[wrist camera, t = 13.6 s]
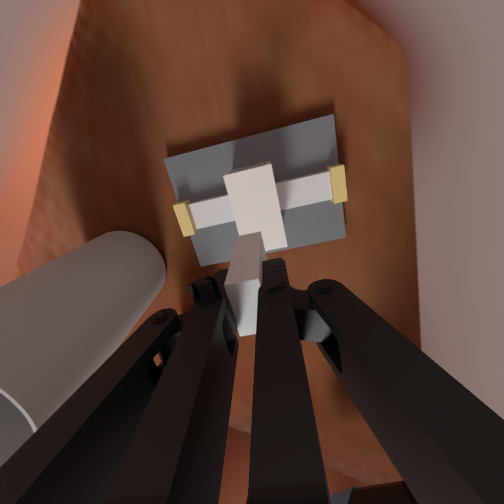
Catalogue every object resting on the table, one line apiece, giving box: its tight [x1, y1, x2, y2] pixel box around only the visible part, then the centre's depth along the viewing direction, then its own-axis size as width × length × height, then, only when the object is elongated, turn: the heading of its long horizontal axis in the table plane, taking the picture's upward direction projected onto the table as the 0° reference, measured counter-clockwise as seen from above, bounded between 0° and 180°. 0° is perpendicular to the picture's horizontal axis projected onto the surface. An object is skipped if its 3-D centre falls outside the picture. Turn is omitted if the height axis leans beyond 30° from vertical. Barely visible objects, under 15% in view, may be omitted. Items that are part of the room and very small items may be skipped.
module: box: [223, 161, 288, 251], centre depth 30 cm, size 9×5×8 cm, turn 14°
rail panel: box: [164, 114, 347, 267], centre depth 33 cm, size 16×22×4 cm
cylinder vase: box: [0, 231, 166, 467], centre depth 29 cm, size 12×12×25 cm
